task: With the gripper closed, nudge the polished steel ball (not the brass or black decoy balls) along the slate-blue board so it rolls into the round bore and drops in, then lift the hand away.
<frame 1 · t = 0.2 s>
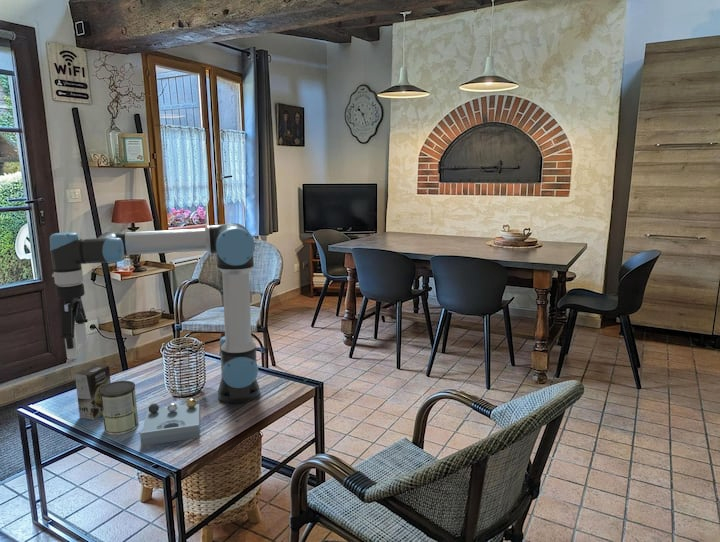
hand: (77, 350, 158), 28 cm above the table, fingers open, 13 cm apart
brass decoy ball: (191, 403, 174), point 4 cm above the table, touching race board
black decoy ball: (153, 408, 170), point 4 cm above the table, touching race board
coffee can: (121, 427, 166), on the table
coffee box: (97, 413, 176), on the table
steel ball: (172, 407, 171), point 4 cm above the table, touching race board
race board: (172, 426, 166), on the table
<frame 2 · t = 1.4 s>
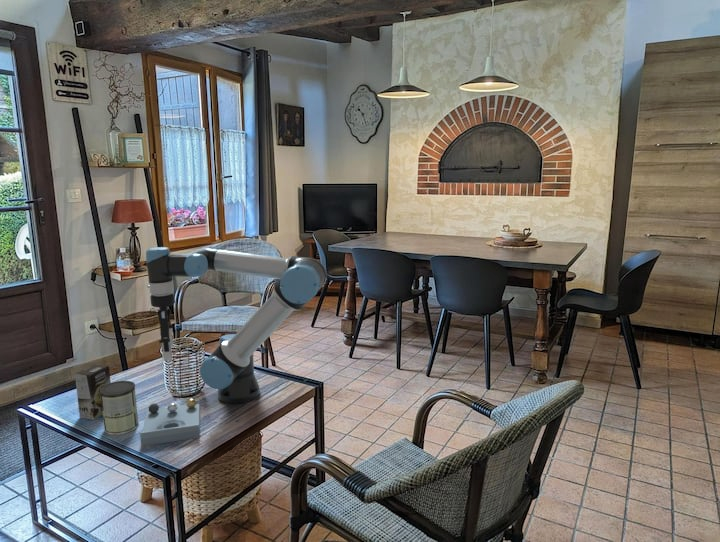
hand: (168, 353, 175), 20 cm above the table, fingers open, 13 cm apart
nothing on the table moved.
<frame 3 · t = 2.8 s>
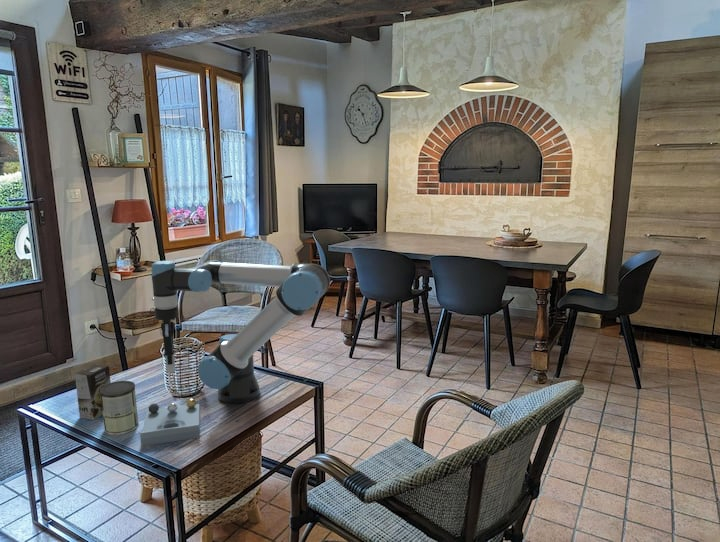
hand: (171, 371, 177), 13 cm above the table, fingers closed
nothing on the table moved.
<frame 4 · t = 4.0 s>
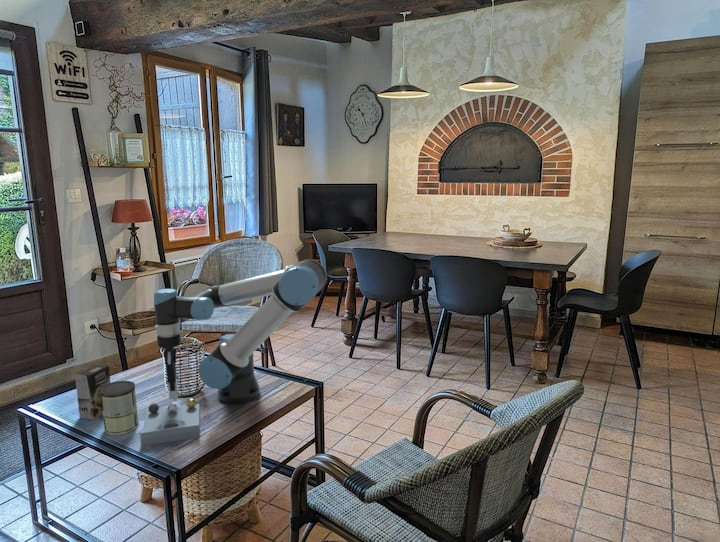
hand: (173, 397, 179), 4 cm above the table, fingers closed
nothing on the table moved.
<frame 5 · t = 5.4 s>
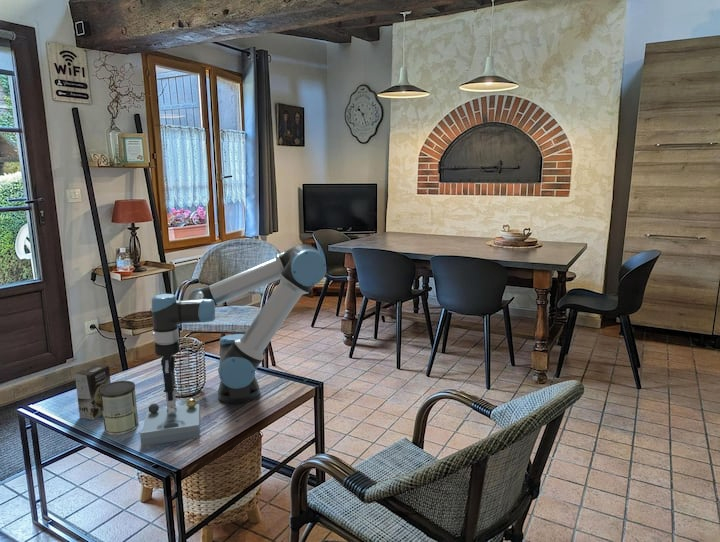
hand: (171, 407, 171), 4 cm above the table, fingers closed
steel ball: (171, 410, 169), point 4 cm above the table, tilted 65°, touching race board
everything else where it was.
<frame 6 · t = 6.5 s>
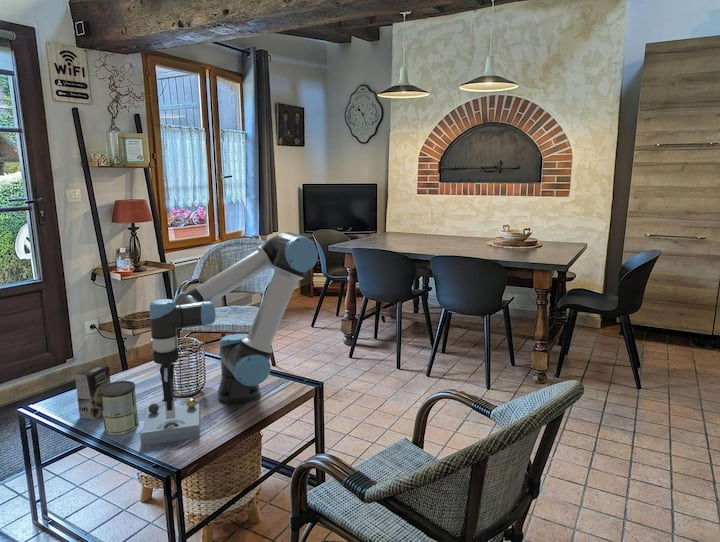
hand: (170, 417, 165), 4 cm above the table, fingers closed
steel ball: (171, 430, 161), point 2 cm above the table, tilted 81°
everything else where it was.
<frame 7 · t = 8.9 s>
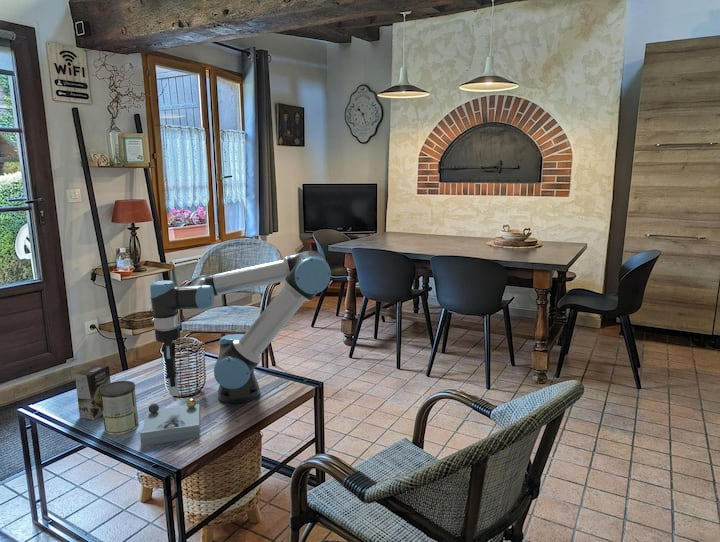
hand: (174, 393, 172), 8 cm above the table, fingers closed
steel ball: (171, 429, 161), point 2 cm above the table, tilted 69°
everything else where it was.
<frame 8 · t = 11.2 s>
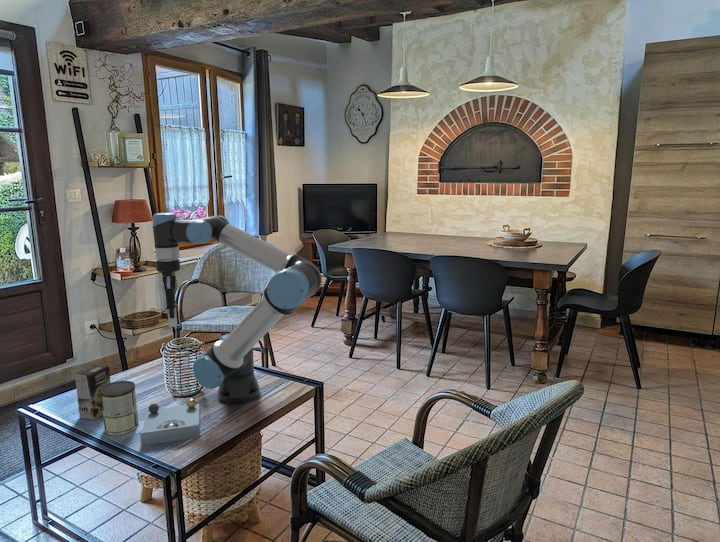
hand: (173, 326, 176), 29 cm above the table, fingers closed
steel ball: (171, 428, 162), point 2 cm above the table, tilted 58°
everything else where it was.
at the end: steel ball 0.3 cm from the target spot in the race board, point 1.6 cm above the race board's base; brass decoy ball moved 0.0 cm from its start; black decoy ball moved 0.0 cm from its start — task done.
